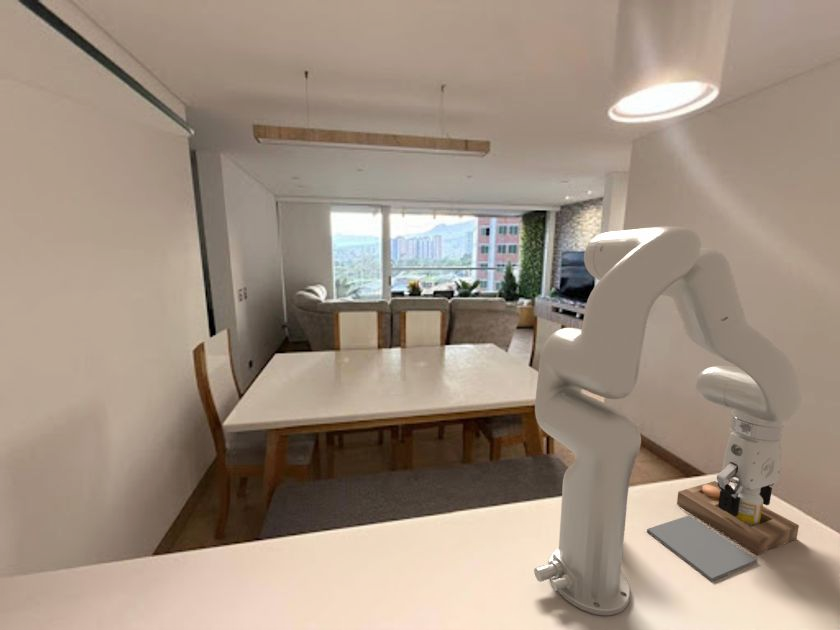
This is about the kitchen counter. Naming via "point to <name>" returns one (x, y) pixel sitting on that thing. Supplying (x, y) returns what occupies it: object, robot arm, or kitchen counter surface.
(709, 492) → the peach rounded piece
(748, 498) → the supplement bottle
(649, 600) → the kitchen counter surface
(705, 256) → the robot arm
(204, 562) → the kitchen counter surface
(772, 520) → the housing
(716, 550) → the pad
